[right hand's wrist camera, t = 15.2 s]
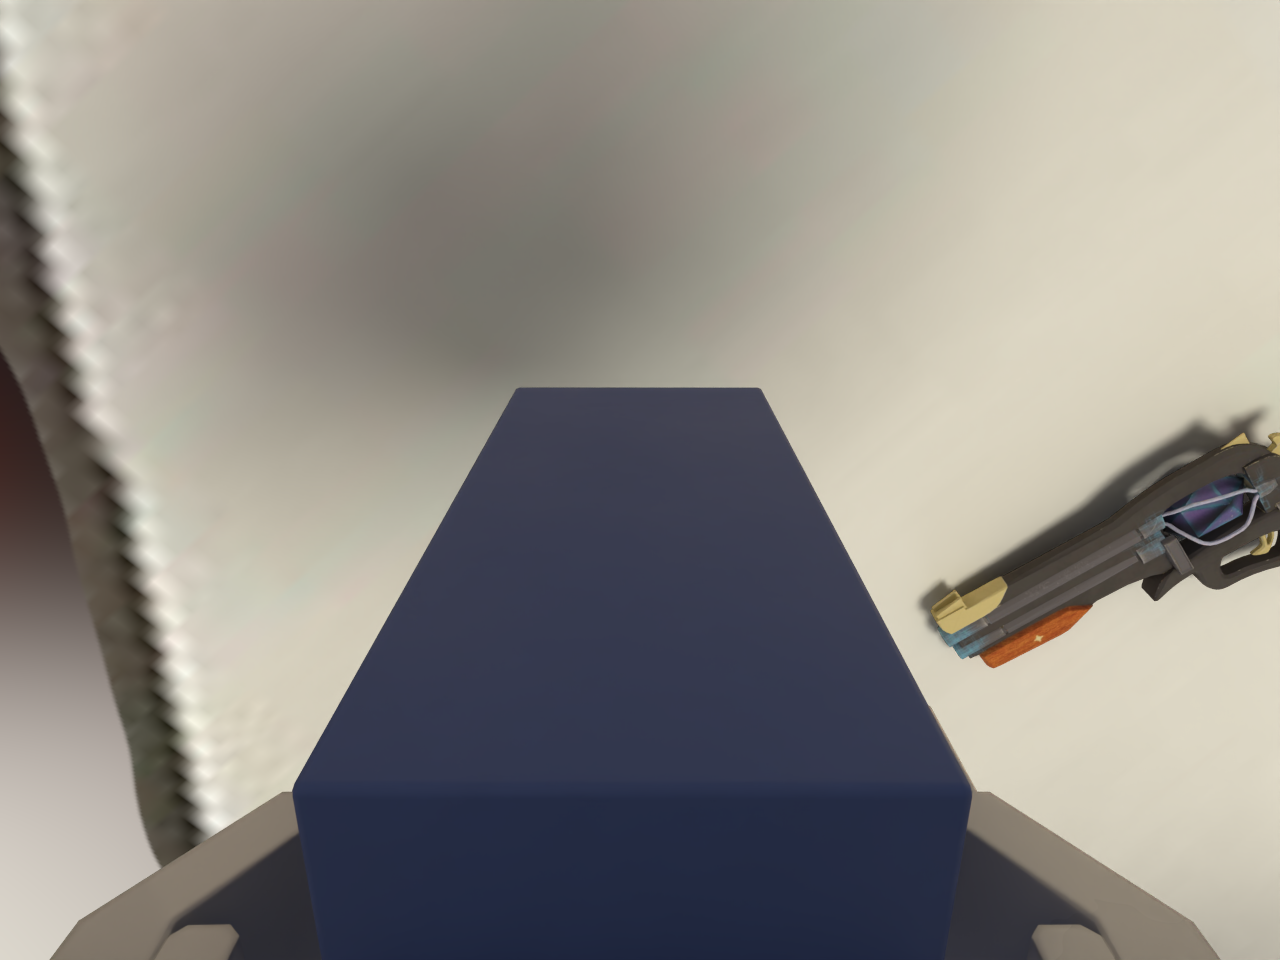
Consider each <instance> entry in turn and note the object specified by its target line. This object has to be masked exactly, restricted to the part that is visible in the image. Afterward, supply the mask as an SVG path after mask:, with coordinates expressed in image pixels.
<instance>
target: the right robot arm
mask: <svg viewBox="0 0 1280 960" xmlns="http://www.w3.org/2000/svg"><path fill="white" fill-rule="evenodd" d="M928 706H929V705H928ZM929 708H930V710H931V712H932V714H933V716H934V717H935V719H936V721H937V723H938V725H939V727H940V729H941V731H942V733H943V734H944V736H945V738H946V740H947V742H948V744H949V746H950V748H951V750H952V751H953V753H954V755H955V757H956V759H957V761H958V763H959V765H960V767H961V768H962V770H963V772H964V774H965V776H966V778H967V780H968V782H969V784H970V786H971V789H972V801H971V807H970V813H969V819H968V824H967V830H966V836H965V842H964V848H963V854H962V859H961V865H960V871H959V877H958V883H957V889H956V894H955V900H954V906H953V912H952V918H951V924H950V930H949V935H948V941H947V947H946V953H945V959H944V960H1220V958H1219V957H1218V955H1217V954H1216V953H1215V951H1214V950H1213V949H1212V947H1211V946H1210V944H1209V943H1208V942H1207V940H1206V939H1205V938H1204V936H1203V935H1202V933H1201V932H1200V931H1199V929H1198V928H1197V927H1196V925H1195V924H1194V923H1193V922H1192V921H1191V920H1189V919H1187V918H1186V917H1184V916H1183V915H1181V914H1180V913H1178V912H1177V911H1175V910H1173V909H1172V908H1170V907H1169V906H1167V905H1166V904H1164V903H1162V902H1161V901H1159V900H1158V899H1156V898H1155V897H1153V896H1152V895H1150V894H1148V893H1147V892H1145V891H1144V890H1142V889H1141V888H1139V887H1137V886H1136V885H1134V884H1133V883H1131V882H1130V881H1128V880H1127V879H1125V878H1123V877H1122V876H1120V875H1119V874H1117V873H1116V872H1114V871H1112V870H1111V869H1109V868H1108V867H1106V866H1105V865H1103V864H1102V863H1100V862H1098V861H1097V860H1095V859H1094V858H1092V857H1091V856H1089V855H1087V854H1086V853H1084V852H1083V851H1081V850H1080V849H1078V848H1077V847H1075V846H1073V845H1072V844H1070V843H1069V842H1067V841H1066V840H1064V839H1063V838H1061V837H1059V836H1058V835H1056V834H1055V833H1053V832H1052V831H1050V830H1048V829H1047V828H1045V827H1044V826H1042V825H1041V824H1039V823H1038V822H1036V821H1034V820H1033V819H1031V818H1030V817H1028V816H1027V815H1025V814H1023V813H1022V812H1020V811H1019V810H1017V809H1016V808H1014V807H1013V806H1011V805H1009V804H1008V803H1006V802H1005V801H1003V800H1002V799H1000V798H998V797H997V796H995V795H994V794H992V793H991V792H977V790H976V788H975V787H974V785H973V783H972V781H971V779H970V778H969V776H968V774H967V772H966V770H965V768H964V767H963V765H962V763H961V761H960V759H959V757H958V756H957V754H956V752H955V750H954V748H953V747H952V745H951V743H950V741H949V739H948V737H947V736H946V734H945V732H944V730H943V728H942V727H941V725H940V723H939V721H938V719H937V717H936V716H935V714H934V712H933V710H932V708H931V707H930V706H929ZM50 960H322V959H321V953H320V948H319V942H318V936H317V931H316V925H315V920H314V914H313V908H312V903H311V897H310V892H309V886H308V880H307V875H306V869H305V864H304V858H303V852H302V847H301V841H300V836H299V830H298V824H297V819H296V813H295V808H294V802H293V795H292V792H282V793H280V794H278V795H277V796H275V797H274V798H272V799H271V800H269V801H267V802H266V803H264V804H263V805H261V806H259V807H258V808H256V809H255V810H253V811H252V812H250V813H248V814H247V815H245V816H244V817H242V818H240V819H239V820H237V821H236V822H234V823H233V824H231V825H229V826H228V827H226V828H225V829H223V830H222V831H220V832H218V833H217V834H215V835H214V836H212V837H210V838H209V839H207V840H206V841H204V842H203V843H201V844H199V845H198V846H196V847H195V848H193V849H191V850H190V851H188V852H187V853H185V854H184V855H182V856H180V857H179V858H177V859H176V860H174V861H173V862H171V863H169V864H168V865H166V866H165V867H163V868H161V869H160V870H158V871H157V872H155V873H154V874H152V875H150V876H149V877H147V878H146V879H144V880H142V881H141V882H139V883H138V884H136V885H135V886H133V887H131V888H130V889H128V890H127V891H125V892H123V893H122V894H120V895H119V896H117V897H116V898H114V899H112V900H111V901H109V902H108V903H106V904H105V905H103V906H101V907H100V908H98V909H97V910H95V911H93V912H92V913H90V914H89V915H87V916H86V917H84V918H82V919H81V920H79V921H78V922H77V924H76V925H75V927H74V928H73V929H72V931H71V932H70V933H69V935H68V936H67V937H66V939H65V940H64V941H63V943H62V944H61V945H60V947H59V948H58V949H57V951H56V952H55V953H54V955H53V956H52V957H51V959H50Z"/></svg>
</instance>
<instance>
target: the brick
mask: <svg viewBox="0 0 1280 960" xmlns="http://www.w3.org/2000/svg"><path fill="white" fill-rule="evenodd" d="M292 795H293V802H294V808H295V813H296V819H297V824H298V830H299V836H300V841H301V847H302V852H303V858H304V864H305V869H306V875H307V880H308V886H309V892H310V897H311V903H312V908H313V914H314V920H315V925H316V931H317V936H318V942H319V948H320V953H321V959H322V960H944V959H945V953H946V947H947V941H948V935H949V930H950V924H951V918H952V912H953V906H954V900H955V894H956V889H957V883H958V877H959V871H960V865H961V859H962V854H963V848H964V842H965V836H966V830H967V824H968V819H969V813H970V807H971V801H972V789H971V786H970V784H969V782H968V780H967V778H966V776H965V774H964V772H963V770H962V768H961V767H960V765H959V763H958V761H957V759H956V757H955V755H954V753H953V751H952V750H951V748H950V746H949V744H948V742H947V740H946V738H945V736H944V734H943V733H942V731H941V729H940V727H939V725H938V723H937V721H936V719H935V717H934V716H933V714H932V712H931V710H930V708H929V706H928V704H927V702H926V700H925V699H924V697H923V695H922V693H921V691H920V689H919V687H918V685H917V683H916V681H915V680H914V678H913V676H912V674H911V672H910V670H909V668H908V666H907V664H906V663H905V661H904V659H903V657H902V655H901V653H900V651H899V649H898V647H897V646H896V644H895V642H894V640H893V638H892V636H891V634H890V632H889V630H888V629H887V627H886V625H885V623H884V621H883V619H882V617H881V615H880V613H879V612H878V610H877V608H876V606H875V604H874V602H873V600H872V598H871V596H870V595H869V593H868V591H867V589H866V587H865V585H864V583H863V581H862V579H861V578H860V576H859V574H858V572H857V570H856V568H855V566H854V564H853V562H852V560H851V559H850V557H849V555H848V553H847V551H846V549H845V547H844V545H843V543H842V542H841V540H840V538H839V536H838V534H837V532H836V530H835V528H834V526H833V525H832V523H831V521H830V519H829V517H828V515H827V513H826V511H825V509H824V508H823V506H822V504H821V502H820V500H819V498H818V496H817V494H816V492H815V491H814V489H813V487H812V485H811V483H810V481H809V479H808V477H807V475H806V474H805V472H804V470H803V468H802V466H801V464H800V462H799V460H798V458H797V456H796V455H795V453H794V451H793V449H792V447H791V445H790V443H789V441H788V439H787V438H786V436H785V434H784V432H783V430H782V428H781V426H780V424H779V422H778V421H777V419H776V417H775V415H774V413H773V411H772V409H771V407H770V405H769V404H768V402H767V400H766V398H765V396H764V394H763V392H762V390H761V389H759V388H517V389H516V390H515V392H514V394H513V396H512V398H511V399H510V401H509V403H508V405H507V406H506V408H505V410H504V412H503V414H502V415H501V417H500V419H499V421H498V422H497V424H496V426H495V428H494V430H493V431H492V433H491V435H490V437H489V438H488V440H487V442H486V444H485V446H484V447H483V449H482V451H481V453H480V454H479V456H478V458H477V460H476V462H475V463H474V465H473V467H472V469H471V470H470V472H469V474H468V476H467V478H466V479H465V481H464V483H463V485H462V487H461V488H460V490H459V492H458V494H457V495H456V497H455V499H454V501H453V503H452V504H451V506H450V508H449V510H448V511H447V513H446V515H445V517H444V519H443V520H442V522H441V524H440V526H439V527H438V529H437V531H436V533H435V535H434V536H433V538H432V540H431V542H430V543H429V545H428V547H427V549H426V551H425V552H424V554H423V556H422V558H421V559H420V561H419V563H418V565H417V567H416V568H415V570H414V572H413V574H412V575H411V577H410V579H409V581H408V583H407V584H406V586H405V588H404V590H403V591H402V593H401V595H400V597H399V599H398V600H397V602H396V604H395V606H394V608H393V609H392V611H391V613H390V615H389V616H388V618H387V620H386V622H385V624H384V625H383V627H382V629H381V631H380V632H379V634H378V636H377V638H376V640H375V641H374V643H373V645H372V647H371V648H370V650H369V652H368V654H367V656H366V657H365V659H364V661H363V663H362V664H361V666H360V668H359V670H358V672H357V673H356V675H355V677H354V679H353V680H352V682H351V684H350V686H349V688H348V689H347V691H346V693H345V695H344V696H343V698H342V700H341V702H340V704H339V705H338V707H337V709H336V711H335V713H334V714H333V716H332V718H331V720H330V721H329V723H328V725H327V727H326V729H325V730H324V732H323V734H322V736H321V737H320V739H319V741H318V743H317V745H316V746H315V748H314V750H313V752H312V753H311V755H310V757H309V759H308V761H307V762H306V764H305V766H304V768H303V769H302V771H301V773H300V775H299V777H298V778H297V780H296V782H295V784H294V787H293V790H292Z"/></svg>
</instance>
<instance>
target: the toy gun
mask: <svg viewBox="0 0 1280 960" xmlns="http://www.w3.org/2000/svg"><path fill="white" fill-rule="evenodd" d="M1268 437H1269V439H1270V440H1271V441H1272V444H1271V445H1270V446H1269V447H1268V448H1267V447H1265V446H1261V445H1258V444H1255V443H1251V442H1249V441H1248V439H1247V437H1246V435H1245V433H1242V434H1240V435H1239V436H1238V437H1236V438H1235V439H1234V440H1232V441H1231V442H1229V443H1228V444H1225V445H1223V446H1221V447H1218V448H1216V449H1214V450H1212V451H1211V452H1209V453H1207V454H1205V455H1203V456H1202V457H1200V458H1198V459H1196V460H1195V461H1193V462H1191V463H1189V464H1188V465H1186V466H1184V467H1182V468H1181V469H1179V470H1177V471H1175V472H1174V473H1172V474H1170V475H1168V476H1167V477H1165V478H1163V479H1162V480H1160V481H1159V482H1157V483H1155V484H1154V485H1152V486H1151V487H1149V488H1148V489H1146V490H1145V491H1143V492H1142V493H1141V494H1139V495H1138V496H1137V497H1135V498H1134V499H1133V500H1132V501H1130V502H1129V503H1128V504H1126V505H1125V506H1124V507H1122V508H1121V509H1120V510H1119V511H1117V512H1116V513H1115V514H1114V515H1112V516H1111V517H1110V518H1108V519H1107V520H1105V521H1103V522H1102V523H1100V524H1098V525H1097V526H1095V527H1093V528H1091V529H1089V530H1087V531H1086V532H1084V533H1082V534H1080V535H1078V536H1076V537H1075V538H1073V539H1071V540H1069V541H1067V542H1065V543H1063V544H1062V545H1060V546H1058V547H1056V548H1054V549H1052V550H1051V551H1049V552H1047V553H1045V554H1043V555H1041V556H1039V557H1038V558H1036V559H1034V560H1032V561H1030V562H1028V563H1027V564H1025V565H1023V566H1021V567H1019V568H1017V569H1016V570H1014V571H1012V572H1010V573H1008V574H1006V575H1004V576H1002V577H1001V576H1000V577H998V578H996V579H994V580H992V581H990V582H988V583H986V584H985V585H983V586H981V587H979V588H977V589H976V590H974V591H972V592H970V593H968V594H966V595H964V596H962V597H960V595H959V594H958V593H957V591H956V590H953V591H952V592H951V593H950V594H948V595H947V596H946V597H944V598H943V599H942V600H940V601H939V602H938V603H936V604H935V605H934V606H932V610H931V613H932V615H933V617H934V619H935V620H936V622H937V624H938V625H939V627H938V630H939V632H940V634H941V636H942V637H943V639H944V640H945V642H946V643H947V644H948V645H949V647H951V646H953V648H954V649H955V651H956V652H957V654H958V655H959V657H960V658H961V659H964V658H966V657H967V656H969V657H970V658H972V657H974V656H977V655H980V657H981V658H982V659H983V661H984V662H985V663H986V664H987V665H988V666H989V667H992V668H995V667H998V666H1000V665H1002V664H1004V663H1006V662H1008V661H1010V660H1012V659H1014V658H1016V657H1018V656H1020V655H1022V654H1024V653H1026V652H1028V651H1030V650H1032V649H1034V648H1036V647H1038V646H1040V645H1042V644H1044V643H1046V642H1048V641H1050V640H1052V639H1054V638H1055V637H1057V636H1059V635H1061V634H1063V633H1065V632H1066V631H1068V630H1069V629H1070V628H1071V627H1072V626H1073V625H1074V624H1075V623H1076V622H1077V621H1078V620H1079V619H1080V618H1081V617H1082V616H1083V615H1084V614H1085V613H1086V612H1087V611H1088V610H1089V609H1090V608H1091V607H1092V606H1093V603H1094V602H1096V601H1097V600H1099V599H1101V598H1103V597H1105V596H1107V595H1109V594H1111V593H1113V592H1115V591H1117V590H1118V589H1120V588H1122V587H1124V586H1126V585H1128V584H1131V583H1133V582H1136V581H1139V580H1141V579H1143V583H1142V588H1143V589H1144V590H1145V592H1146V593H1147V594H1148V595H1149V596H1150V597H1151V598H1152V599H1153V600H1154V601H1158V600H1159V599H1160V598H1161V597H1162V596H1163V595H1165V594H1166V593H1167V592H1168V591H1169V590H1170V589H1171V588H1172V587H1174V586H1175V585H1176V584H1178V583H1179V582H1180V581H1182V580H1183V579H1185V578H1186V577H1188V576H1189V575H1191V574H1193V575H1194V576H1195V577H1196V578H1197V579H1198V580H1199V581H1200V582H1201V583H1202V584H1204V585H1205V586H1207V587H1209V588H1212V589H1223V588H1226V587H1228V586H1230V585H1232V584H1234V583H1236V582H1238V581H1240V580H1241V579H1244V578H1246V577H1248V576H1251V575H1253V574H1256V573H1259V572H1262V571H1264V570H1268V569H1271V568H1275V567H1279V566H1280V433H1272V434H1270V435H1269V436H1268ZM1234 474H1236V475H1234ZM1244 492H1246V493H1247V495H1248V497H1249V499H1250V501H1248V502H1247V503H1245V504H1243V493H1244ZM1274 531H1278V536H1277V540H1276V544H1275V545H1274V546H1273V547H1271V545H1272V542H1273V538H1274ZM1169 533H1170V534H1172V535H1170V534H1169ZM1266 534H1268V537H1267V539H1266V536H1265V535H1266ZM1175 535H1176V536H1179V537H1182V538H1186V539H1184V540H1182V541H1181V542H1179V541H1178V539H1177V538H1176V537H1175ZM1257 538H1259V539H1260V544H1259V545H1258V546H1257V547H1256V548H1255V549H1253V550H1252V551H1251V552H1250V553H1251V554H1249V555H1246V556H1243V557H1240V558H1238V559H1235V560H1233V561H1231V562H1229V563H1227V564H1225V565H1222V566H1220V564H1221V561H1222V558H1223V556H1225V555H1227V554H1229V553H1231V552H1233V551H1234V550H1236V549H1238V548H1240V547H1242V546H1244V545H1246V544H1248V543H1249V542H1251V541H1253V540H1255V539H1257Z"/></svg>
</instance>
